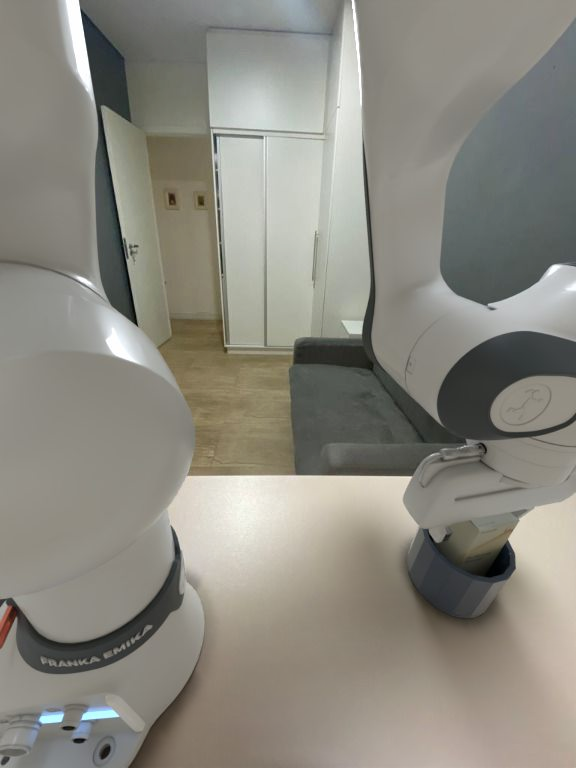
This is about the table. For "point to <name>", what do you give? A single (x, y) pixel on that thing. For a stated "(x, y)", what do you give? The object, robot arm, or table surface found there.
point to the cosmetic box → (477, 542)
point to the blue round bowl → (456, 578)
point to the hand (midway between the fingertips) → (471, 529)
